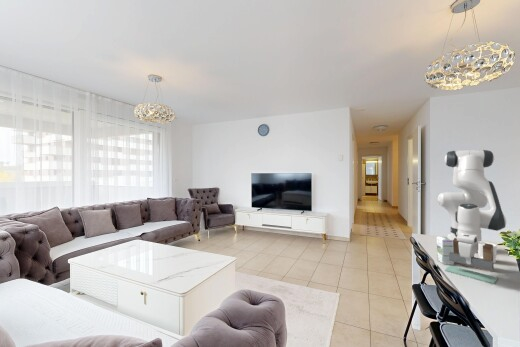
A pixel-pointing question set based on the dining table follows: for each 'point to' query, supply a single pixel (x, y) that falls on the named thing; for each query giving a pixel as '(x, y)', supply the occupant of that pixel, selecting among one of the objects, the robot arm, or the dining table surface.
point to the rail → (475, 261)
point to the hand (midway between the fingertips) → (469, 262)
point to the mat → (471, 274)
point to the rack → (486, 252)
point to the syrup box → (444, 250)
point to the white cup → (480, 250)
